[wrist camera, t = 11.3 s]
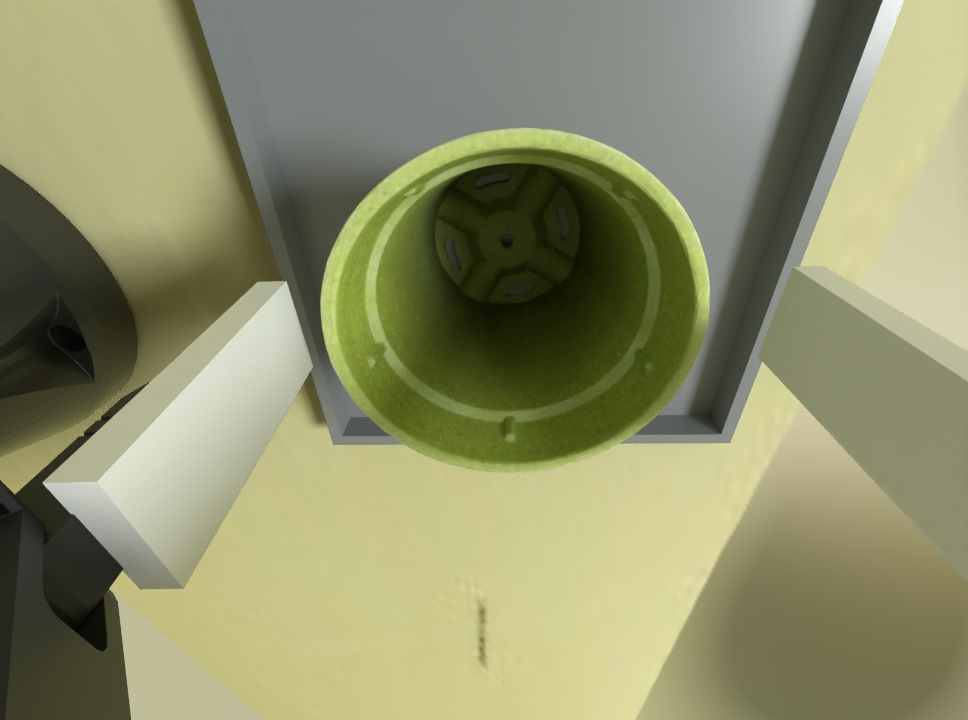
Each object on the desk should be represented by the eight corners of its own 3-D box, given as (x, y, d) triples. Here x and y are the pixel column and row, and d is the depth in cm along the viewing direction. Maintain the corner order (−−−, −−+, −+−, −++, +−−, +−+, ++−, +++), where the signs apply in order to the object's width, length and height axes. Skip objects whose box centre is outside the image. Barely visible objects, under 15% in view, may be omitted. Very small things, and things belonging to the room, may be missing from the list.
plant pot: (352, 154, 16) (236, 220, 9) (600, 60, 14) (703, 49, 7) (441, 352, 21) (412, 497, 14) (635, 301, 19) (717, 436, 12)
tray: (712, 415, 24) (729, 443, 22) (345, 418, 25) (333, 444, 23) (902, -132, 12) (969, -165, 11) (201, -92, 13) (156, -116, 11)
